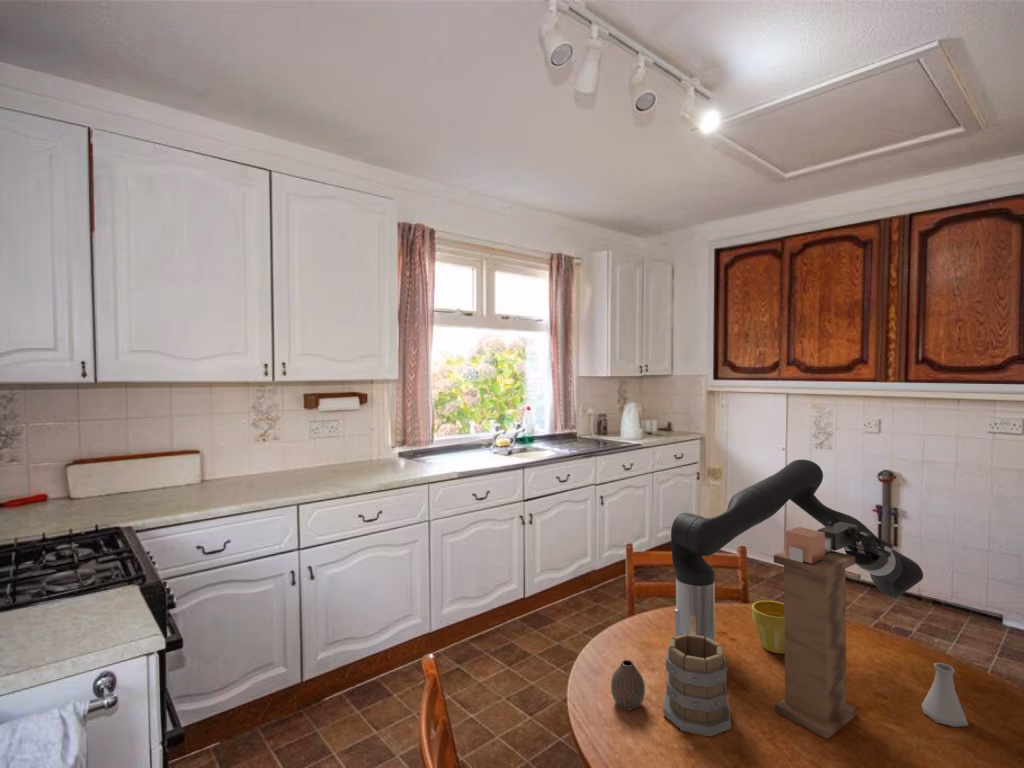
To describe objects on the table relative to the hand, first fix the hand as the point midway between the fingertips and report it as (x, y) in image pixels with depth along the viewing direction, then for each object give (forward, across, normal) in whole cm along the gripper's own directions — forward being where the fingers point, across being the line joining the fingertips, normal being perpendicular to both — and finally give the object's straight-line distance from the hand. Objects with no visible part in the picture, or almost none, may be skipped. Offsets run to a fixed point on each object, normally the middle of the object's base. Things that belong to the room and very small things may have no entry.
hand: (839, 528), depth 112 cm
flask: (-26, +15, +26) cm, 40 cm away
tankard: (+6, -16, +45) cm, 48 cm away
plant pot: (-25, -19, +27) cm, 41 cm away
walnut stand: (-9, 0, +36) cm, 37 cm away
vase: (+16, -24, +51) cm, 58 cm away
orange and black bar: (+4, 0, +6) cm, 7 cm away
